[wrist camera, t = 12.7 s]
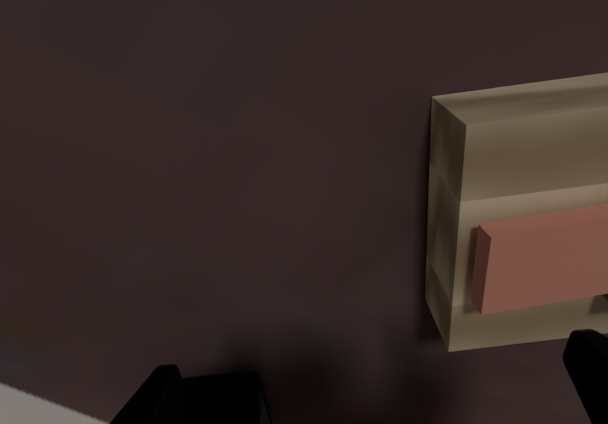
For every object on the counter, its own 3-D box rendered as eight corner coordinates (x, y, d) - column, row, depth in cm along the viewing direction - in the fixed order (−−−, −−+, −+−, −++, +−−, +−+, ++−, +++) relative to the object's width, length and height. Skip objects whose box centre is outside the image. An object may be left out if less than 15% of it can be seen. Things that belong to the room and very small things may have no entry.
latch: (648, 196, 16) (670, 208, 15) (621, 273, 18) (639, 287, 17) (478, 224, 16) (491, 238, 15) (470, 299, 18) (481, 315, 17)
